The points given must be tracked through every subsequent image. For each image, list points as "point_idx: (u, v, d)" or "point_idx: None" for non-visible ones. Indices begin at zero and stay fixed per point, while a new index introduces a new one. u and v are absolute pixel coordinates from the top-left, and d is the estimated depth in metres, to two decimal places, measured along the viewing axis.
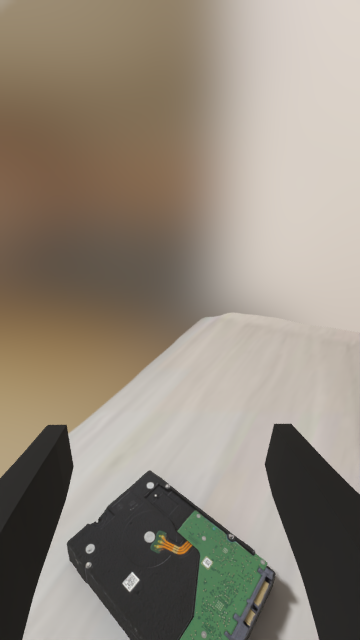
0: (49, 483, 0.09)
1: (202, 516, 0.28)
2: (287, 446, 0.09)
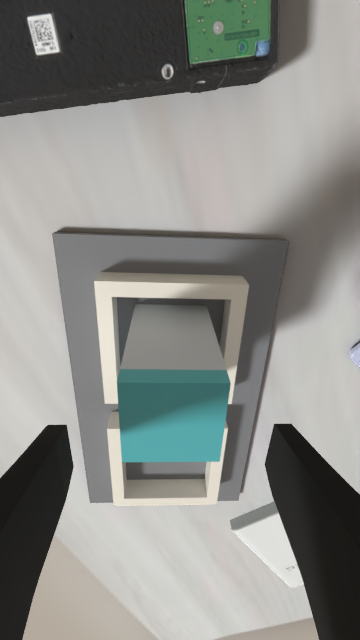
0: (49, 483, 0.09)
1: None
2: (287, 446, 0.09)
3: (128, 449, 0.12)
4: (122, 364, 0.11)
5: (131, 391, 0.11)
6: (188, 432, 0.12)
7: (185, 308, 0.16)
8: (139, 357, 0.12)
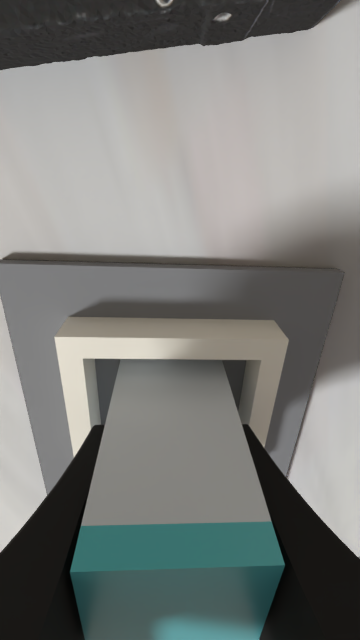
0: None
1: None
2: None
3: None
4: (86, 511, 0.06)
5: (98, 582, 0.06)
6: (203, 625, 0.07)
7: (192, 366, 0.11)
8: (118, 490, 0.07)
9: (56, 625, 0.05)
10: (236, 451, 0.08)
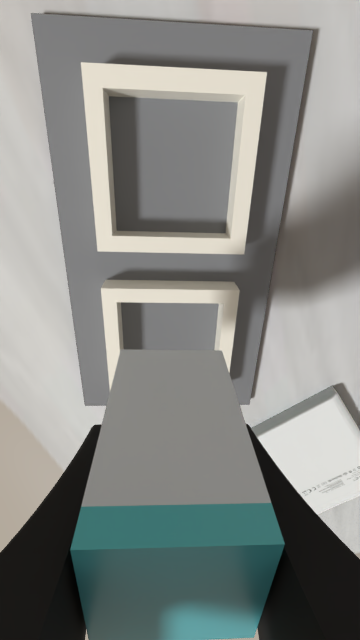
0: None
1: None
2: None
3: (100, 630, 0.07)
4: (87, 492, 0.06)
5: (99, 561, 0.06)
6: (203, 607, 0.07)
7: (192, 356, 0.12)
8: (118, 472, 0.07)
9: (56, 625, 0.05)
10: (236, 436, 0.08)
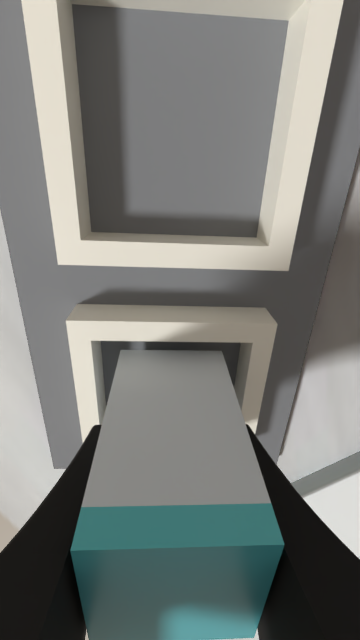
0: None
1: None
2: None
3: (100, 630, 0.07)
4: (87, 493, 0.06)
5: (99, 561, 0.06)
6: (203, 608, 0.07)
7: (192, 357, 0.12)
8: (118, 473, 0.07)
9: (56, 625, 0.05)
10: (236, 437, 0.08)
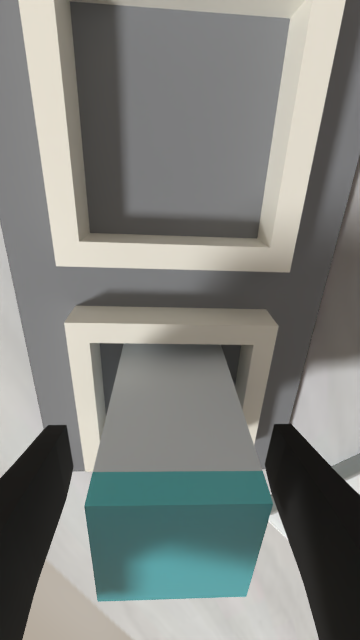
0: (49, 483, 0.09)
1: None
2: (287, 446, 0.09)
3: (107, 586, 0.08)
4: (97, 460, 0.07)
5: (109, 517, 0.06)
6: (200, 565, 0.07)
7: (191, 346, 0.12)
8: (125, 444, 0.08)
9: None
10: (232, 416, 0.09)
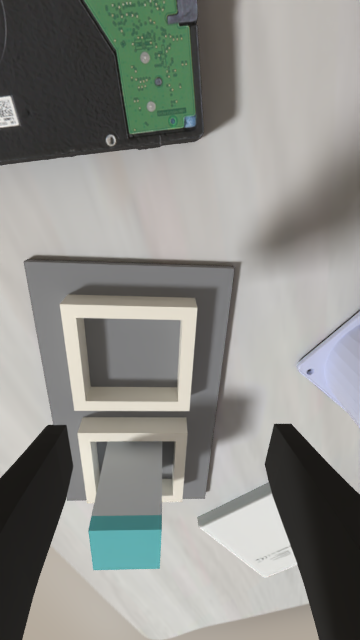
0: (49, 483, 0.09)
1: None
2: (287, 446, 0.09)
3: (97, 563, 0.18)
4: (93, 510, 0.17)
5: (97, 534, 0.17)
6: (136, 554, 0.18)
7: None
8: (105, 502, 0.18)
9: None
10: (156, 486, 0.19)
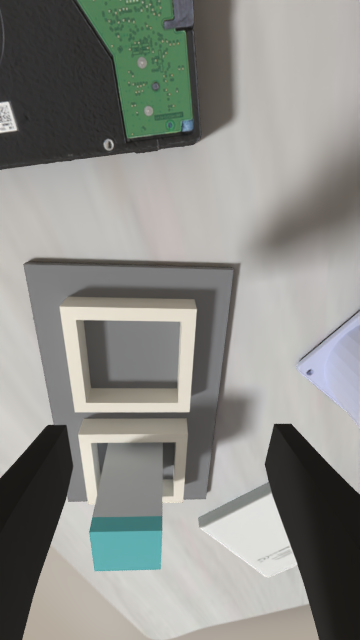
0: (49, 483, 0.09)
1: None
2: (287, 446, 0.09)
3: (98, 564, 0.18)
4: (94, 511, 0.18)
5: (98, 536, 0.17)
6: (137, 555, 0.18)
7: None
8: (106, 503, 0.18)
9: None
10: (156, 487, 0.19)
